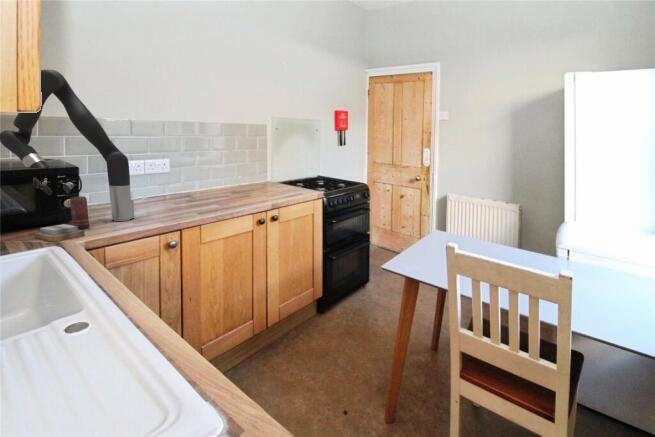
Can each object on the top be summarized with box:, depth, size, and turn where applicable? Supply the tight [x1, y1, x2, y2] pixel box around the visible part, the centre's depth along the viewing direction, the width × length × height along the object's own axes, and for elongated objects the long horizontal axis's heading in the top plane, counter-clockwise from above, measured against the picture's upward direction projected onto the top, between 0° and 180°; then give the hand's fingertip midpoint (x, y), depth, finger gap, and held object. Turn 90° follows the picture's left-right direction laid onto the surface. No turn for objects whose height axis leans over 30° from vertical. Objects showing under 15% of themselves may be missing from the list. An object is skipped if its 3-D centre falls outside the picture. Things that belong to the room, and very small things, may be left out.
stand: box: [33, 223, 86, 242], centre depth 150 cm, size 12×12×4 cm
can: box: [69, 196, 90, 230], centre depth 165 cm, size 6×6×14 cm
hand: (60, 192), depth 166 cm, fingers open, 8 cm apart
